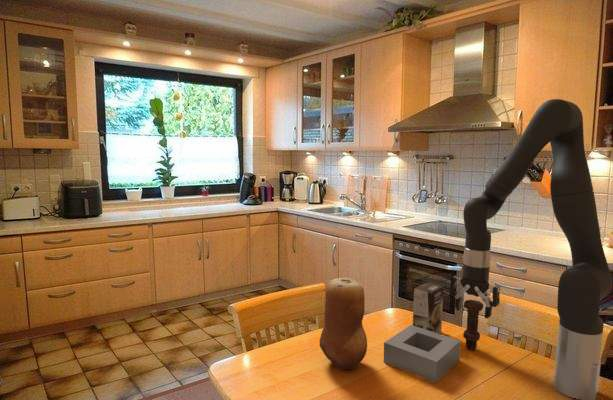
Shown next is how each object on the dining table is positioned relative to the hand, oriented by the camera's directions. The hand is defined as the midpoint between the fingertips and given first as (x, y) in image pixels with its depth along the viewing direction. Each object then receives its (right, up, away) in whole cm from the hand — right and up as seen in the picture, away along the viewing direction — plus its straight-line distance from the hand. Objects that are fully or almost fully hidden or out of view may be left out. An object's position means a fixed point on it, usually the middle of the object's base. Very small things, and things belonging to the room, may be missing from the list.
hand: (472, 313), depth 127 cm
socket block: (-17, -12, -6) cm, 22 cm away
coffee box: (-10, -10, +12) cm, 19 cm away
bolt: (0, -12, +1) cm, 12 cm away
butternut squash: (-41, -13, -8) cm, 43 cm away
